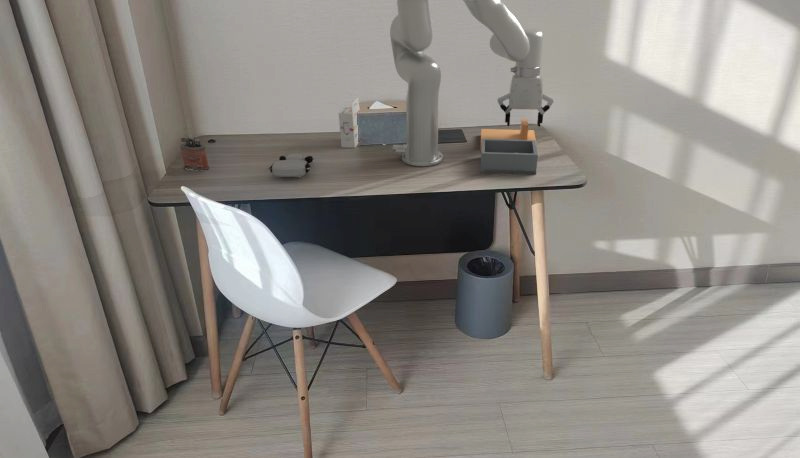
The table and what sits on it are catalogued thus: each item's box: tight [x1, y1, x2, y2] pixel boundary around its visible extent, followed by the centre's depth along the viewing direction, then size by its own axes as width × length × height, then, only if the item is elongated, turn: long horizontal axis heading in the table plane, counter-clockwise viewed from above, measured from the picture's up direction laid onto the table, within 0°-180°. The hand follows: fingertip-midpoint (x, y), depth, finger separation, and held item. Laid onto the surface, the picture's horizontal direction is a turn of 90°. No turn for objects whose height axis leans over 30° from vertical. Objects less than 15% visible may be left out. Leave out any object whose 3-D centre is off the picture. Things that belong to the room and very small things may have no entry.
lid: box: [480, 118, 537, 151], centre depth 196 cm, size 17×13×7 cm
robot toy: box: [265, 153, 316, 178], centre depth 180 cm, size 12×4×15 cm
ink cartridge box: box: [338, 97, 361, 149], centre depth 198 cm, size 9×5×15 cm, turn 168°
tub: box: [480, 139, 539, 175], centre depth 180 cm, size 16×12×6 cm
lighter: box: [179, 136, 210, 171], centre depth 183 cm, size 8×3×10 cm, turn 74°
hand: (523, 124), depth 195 cm, fingers open, 9 cm apart
